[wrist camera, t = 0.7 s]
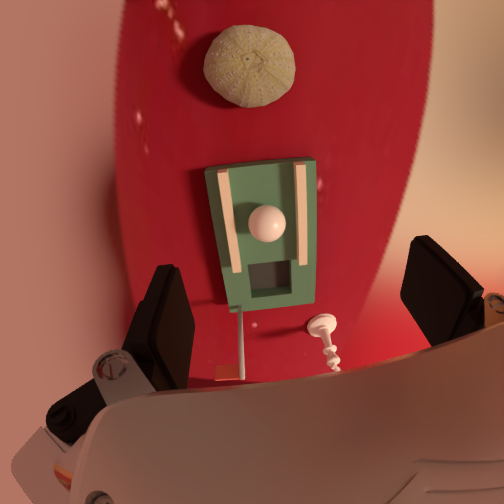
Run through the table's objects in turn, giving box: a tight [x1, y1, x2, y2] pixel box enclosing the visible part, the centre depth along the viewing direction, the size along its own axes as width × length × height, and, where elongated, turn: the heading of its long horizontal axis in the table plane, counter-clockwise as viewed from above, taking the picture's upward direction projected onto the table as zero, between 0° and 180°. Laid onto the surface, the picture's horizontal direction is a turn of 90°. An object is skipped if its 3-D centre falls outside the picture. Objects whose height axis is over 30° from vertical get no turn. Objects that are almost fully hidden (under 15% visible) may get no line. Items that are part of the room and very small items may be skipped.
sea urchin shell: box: [203, 25, 296, 108], centre depth 23 cm, size 9×8×8 cm
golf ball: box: [248, 205, 286, 242], centre depth 30 cm, size 4×4×4 cm
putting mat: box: [204, 157, 317, 381], centre depth 30 cm, size 20×14×14 cm
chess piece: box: [307, 314, 340, 372], centre depth 40 cm, size 5×5×10 cm
